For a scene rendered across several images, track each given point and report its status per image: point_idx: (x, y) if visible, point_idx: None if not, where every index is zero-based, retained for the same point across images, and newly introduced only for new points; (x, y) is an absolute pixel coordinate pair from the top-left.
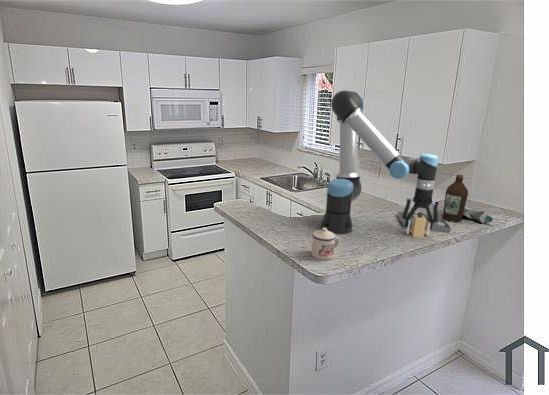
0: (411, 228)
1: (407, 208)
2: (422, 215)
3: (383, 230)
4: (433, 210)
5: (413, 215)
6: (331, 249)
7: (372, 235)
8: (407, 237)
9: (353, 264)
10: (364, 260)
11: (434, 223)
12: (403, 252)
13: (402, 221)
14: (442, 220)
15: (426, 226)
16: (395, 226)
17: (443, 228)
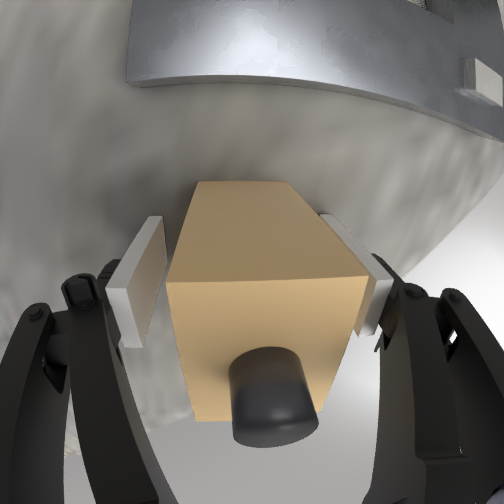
0: (194, 194)
1: (47, 483)
2: (351, 278)
3: (12, 222)
4: (494, 399)
5: (169, 273)
6: None
7: (3, 317)
8: (160, 308)
9: (69, 451)
10: (77, 446)
11: (450, 45)
12: (152, 430)
13: (135, 4)
14: (491, 4)
15: (375, 94)
16: (81, 76)
17: (475, 129)
